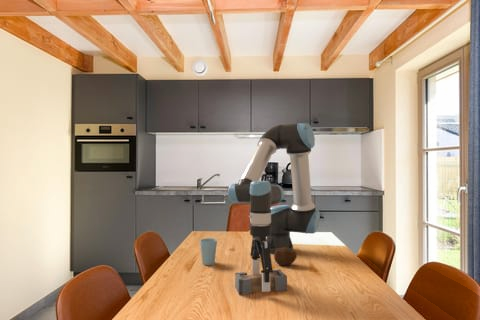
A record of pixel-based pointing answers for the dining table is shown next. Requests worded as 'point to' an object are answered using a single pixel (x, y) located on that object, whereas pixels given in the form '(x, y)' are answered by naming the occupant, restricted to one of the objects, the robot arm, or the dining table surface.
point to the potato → (284, 256)
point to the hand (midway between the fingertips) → (260, 283)
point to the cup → (208, 250)
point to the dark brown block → (260, 281)
